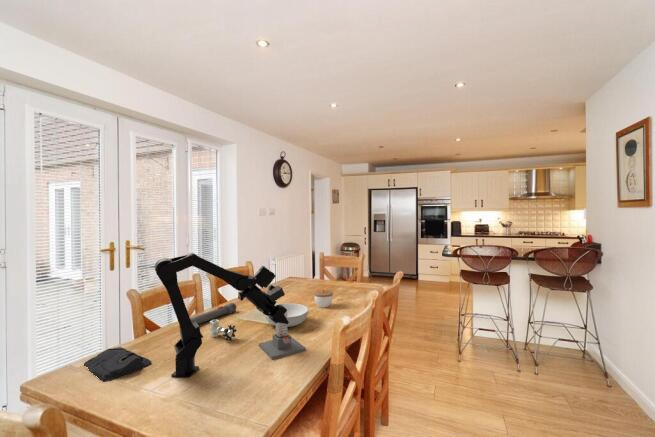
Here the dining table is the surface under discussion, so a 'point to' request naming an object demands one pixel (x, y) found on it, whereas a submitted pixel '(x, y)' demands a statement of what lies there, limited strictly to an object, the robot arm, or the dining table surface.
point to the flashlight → (214, 313)
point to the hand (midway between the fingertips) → (284, 320)
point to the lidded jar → (323, 298)
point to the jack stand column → (282, 329)
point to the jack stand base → (281, 346)
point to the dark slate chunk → (115, 363)
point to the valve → (221, 330)
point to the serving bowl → (293, 314)
